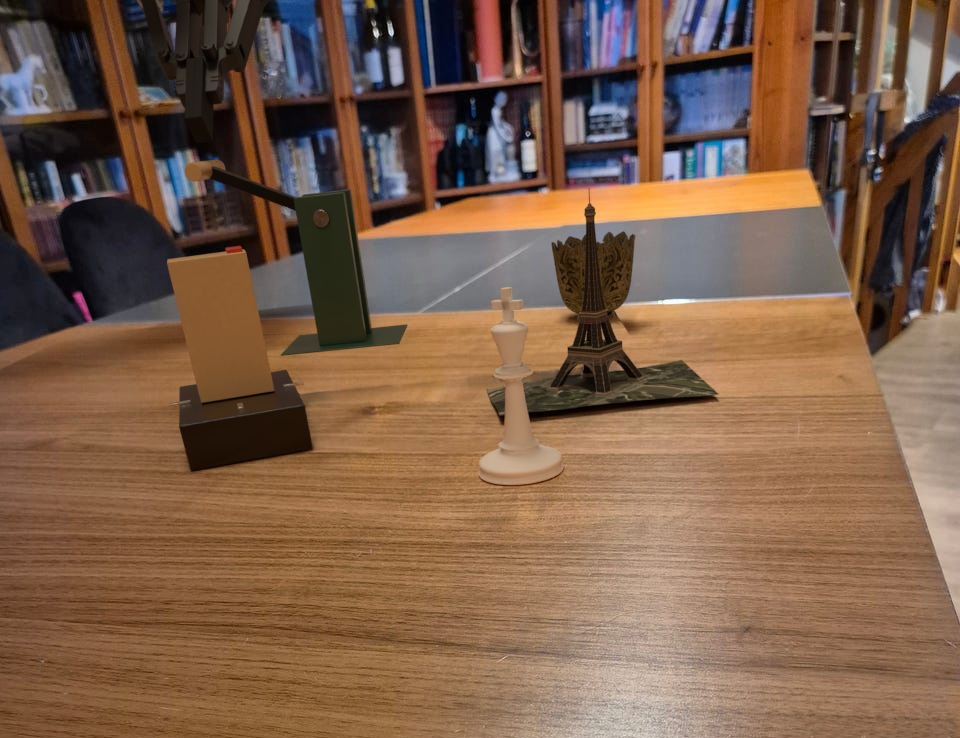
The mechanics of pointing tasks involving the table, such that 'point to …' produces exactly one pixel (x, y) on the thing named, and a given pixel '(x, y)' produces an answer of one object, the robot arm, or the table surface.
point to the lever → (236, 182)
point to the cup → (612, 268)
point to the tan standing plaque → (221, 324)
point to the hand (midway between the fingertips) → (198, 129)
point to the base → (243, 425)
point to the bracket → (336, 277)
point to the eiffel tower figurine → (602, 359)
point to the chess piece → (516, 410)
